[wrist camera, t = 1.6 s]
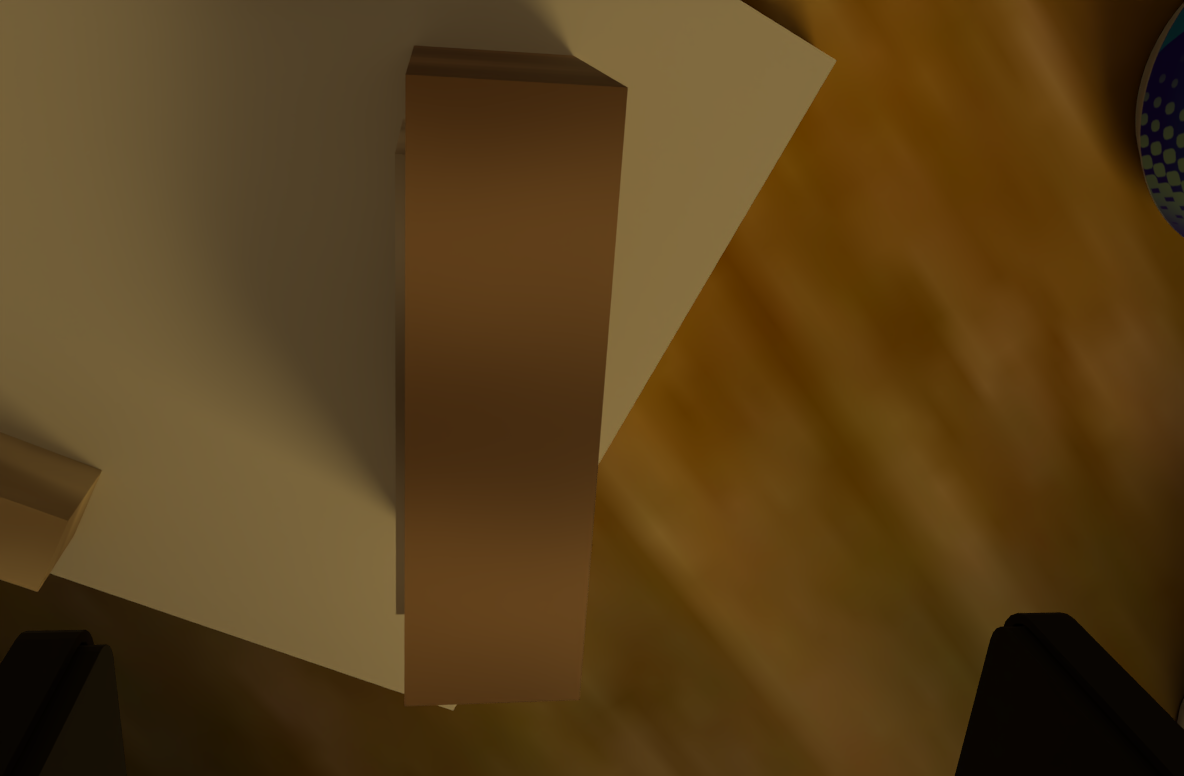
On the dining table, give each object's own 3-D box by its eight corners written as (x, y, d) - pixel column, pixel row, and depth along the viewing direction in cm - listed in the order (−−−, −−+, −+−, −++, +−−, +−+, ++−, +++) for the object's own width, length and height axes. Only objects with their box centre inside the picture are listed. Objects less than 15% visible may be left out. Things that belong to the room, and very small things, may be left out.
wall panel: (452, 683, 30) (453, 710, 29) (-222, 447, 25) (-253, 469, 24) (818, 56, 25) (836, 60, 24) (59, -417, 19) (37, -441, 18)
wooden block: (544, 528, 27) (579, 699, 21) (404, 529, 27) (393, 706, 20) (573, 55, 23) (628, 87, 16) (404, 44, 22) (392, 74, 16)
